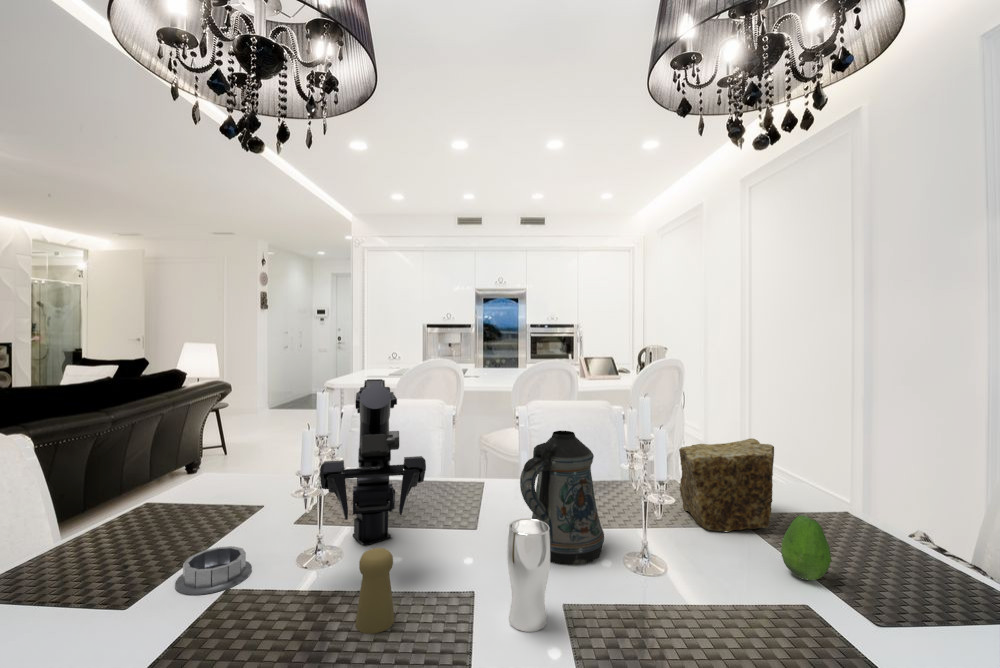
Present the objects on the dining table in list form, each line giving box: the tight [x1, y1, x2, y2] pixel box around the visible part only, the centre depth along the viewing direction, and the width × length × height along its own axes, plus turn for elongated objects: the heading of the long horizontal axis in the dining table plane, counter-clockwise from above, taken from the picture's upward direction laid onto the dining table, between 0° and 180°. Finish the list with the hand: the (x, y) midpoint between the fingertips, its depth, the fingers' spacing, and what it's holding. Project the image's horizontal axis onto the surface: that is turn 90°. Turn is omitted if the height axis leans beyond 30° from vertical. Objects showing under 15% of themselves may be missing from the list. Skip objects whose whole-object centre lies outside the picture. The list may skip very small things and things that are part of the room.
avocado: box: [780, 514, 832, 581], centre depth 89 cm, size 8×8×12 cm
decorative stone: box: [678, 438, 775, 532], centre depth 117 cm, size 21×20×20 cm
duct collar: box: [174, 545, 253, 596], centre depth 85 cm, size 12×12×4 cm
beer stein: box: [519, 430, 605, 566], centre depth 99 cm, size 16×19×25 cm
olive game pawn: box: [354, 547, 396, 635], centre depth 73 cm, size 6×6×11 cm
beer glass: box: [506, 518, 551, 633], centre depth 74 cm, size 7×7×15 cm
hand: (374, 516), depth 81 cm, fingers open, 9 cm apart
